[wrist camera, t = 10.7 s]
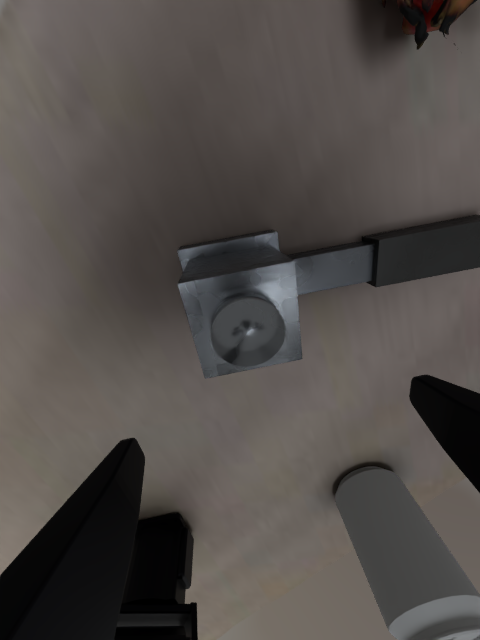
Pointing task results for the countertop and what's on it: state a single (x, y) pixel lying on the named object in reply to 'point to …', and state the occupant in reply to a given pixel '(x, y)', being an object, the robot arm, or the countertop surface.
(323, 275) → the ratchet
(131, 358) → the countertop surface
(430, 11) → the dragon fruit
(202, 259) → the dark grey block
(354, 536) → the can
